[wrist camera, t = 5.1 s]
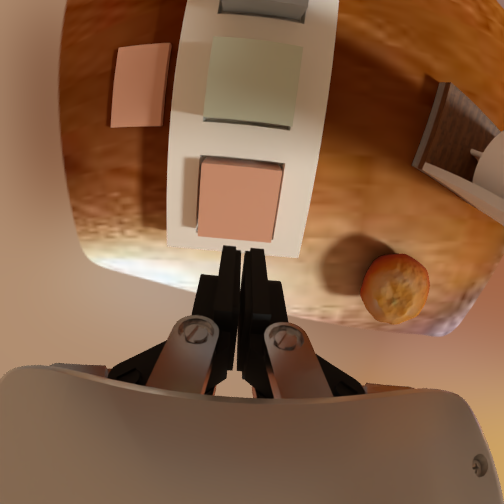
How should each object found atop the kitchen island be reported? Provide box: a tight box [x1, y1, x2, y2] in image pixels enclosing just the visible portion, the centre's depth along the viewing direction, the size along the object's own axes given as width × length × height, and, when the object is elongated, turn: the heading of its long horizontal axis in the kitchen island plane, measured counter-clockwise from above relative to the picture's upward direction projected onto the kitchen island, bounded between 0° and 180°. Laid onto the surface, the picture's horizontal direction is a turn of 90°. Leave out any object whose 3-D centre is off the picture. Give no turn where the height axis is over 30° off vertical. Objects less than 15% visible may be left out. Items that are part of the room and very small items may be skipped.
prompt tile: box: [111, 43, 172, 128], centre depth 20 cm, size 8×5×1 cm, turn 173°
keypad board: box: [167, 0, 339, 258], centre depth 19 cm, size 29×12×3 cm, turn 173°
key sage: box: [203, 36, 303, 127], centre depth 17 cm, size 6×6×3 cm
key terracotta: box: [198, 157, 282, 243], centre depth 22 cm, size 6×6×3 cm
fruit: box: [360, 254, 430, 324], centre depth 28 cm, size 8×8×8 cm
